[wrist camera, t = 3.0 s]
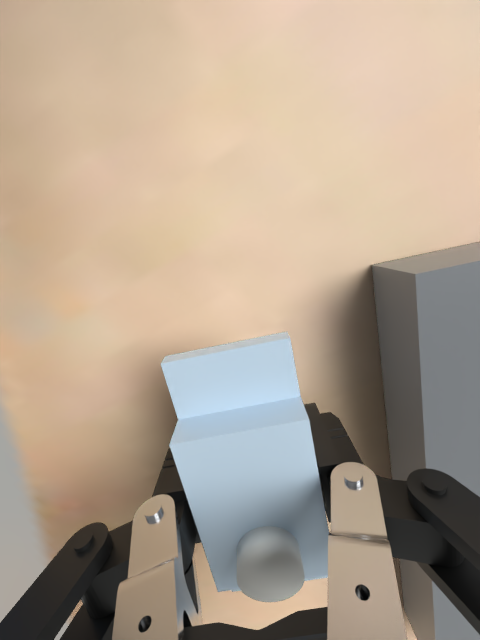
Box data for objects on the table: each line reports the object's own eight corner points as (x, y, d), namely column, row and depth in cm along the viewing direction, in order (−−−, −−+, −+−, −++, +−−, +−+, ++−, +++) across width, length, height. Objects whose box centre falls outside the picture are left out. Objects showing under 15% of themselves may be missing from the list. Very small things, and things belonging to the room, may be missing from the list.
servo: (183, 328, 12) (138, 398, 7) (276, 309, 12) (304, 366, 7) (234, 510, 15) (230, 662, 10) (311, 497, 15) (351, 646, 9)
